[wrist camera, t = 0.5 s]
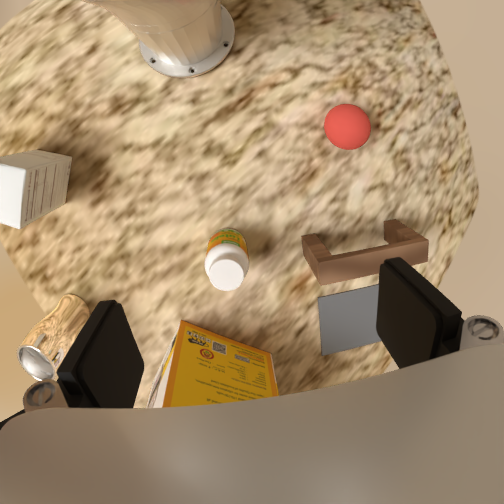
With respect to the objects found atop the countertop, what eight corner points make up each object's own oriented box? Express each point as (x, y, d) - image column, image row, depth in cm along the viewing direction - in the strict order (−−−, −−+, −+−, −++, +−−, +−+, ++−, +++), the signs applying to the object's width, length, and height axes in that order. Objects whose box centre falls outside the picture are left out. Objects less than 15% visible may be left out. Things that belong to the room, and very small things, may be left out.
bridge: (301, 235, 45) (318, 262, 36) (395, 219, 45) (428, 240, 36) (303, 255, 46) (320, 285, 37) (395, 237, 46) (427, 261, 37)
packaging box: (231, 409, 57) (235, 521, 34) (152, 383, 54) (126, 498, 30) (271, 353, 52) (294, 481, 29) (181, 319, 49) (154, 452, 25)
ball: (315, 107, 39) (328, 103, 33) (356, 104, 39) (374, 101, 33) (322, 150, 41) (336, 153, 35) (362, 146, 41) (381, 149, 35)
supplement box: (29, 195, 40) (-21, 217, 28) (36, 148, 37) (-17, 158, 26) (66, 205, 41) (20, 231, 29) (74, 156, 39) (25, 168, 27)
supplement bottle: (242, 224, 44) (245, 249, 35) (249, 259, 46) (254, 292, 37) (204, 231, 44) (197, 258, 35) (212, 266, 46) (208, 300, 37)
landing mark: (317, 297, 49) (318, 298, 49) (387, 282, 49) (387, 282, 49) (321, 355, 53) (322, 355, 53) (384, 339, 53) (384, 339, 53)
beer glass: (79, 333, 49) (45, 389, 35) (51, 305, 47) (9, 357, 33) (99, 313, 48) (64, 372, 34) (70, 283, 45) (25, 335, 31)
